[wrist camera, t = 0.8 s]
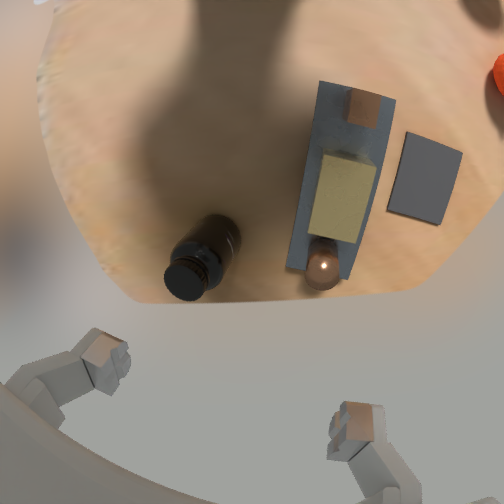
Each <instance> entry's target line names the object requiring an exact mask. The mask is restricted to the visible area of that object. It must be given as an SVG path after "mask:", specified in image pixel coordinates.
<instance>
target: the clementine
mask: <svg viewBox="0 0 504 504" xmlns="http://www.w3.org/2000/svg"><path fill="white" fill-rule="evenodd" d="M493 73H494V79H495V82H496V85H497V87H498V89H499V91H500V92H501V94H502V95H503V96H504V54H502V55H500V56H499V57H498V58H497V60H496V61H495V64H494V68H493Z"/></svg>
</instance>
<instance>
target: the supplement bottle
mask: <svg viewBox="0 0 504 504" xmlns="http://www.w3.org/2000/svg"><path fill="white" fill-rule="evenodd" d="M240 245H241V235H240V232H239V230H238V228H237V226H236V225H235V224H234V223H233V222H232V221H231V220H229V219H228V218H226V217H224V216H220V215H210V216H207V217H204V218H203V219H201V220H200V221H199V222H198V223H197V224H196V225H195V226H194V227H193V228H192V229H191V230H190V231H189V232H188V233H187V234H186V235H185V236H184V237H183V238H182V239H181V240H180V241H179V243H178V244H177V245H176V246H175V247H174V248H173V250H172V252H171V256H170V265H169V267H168V268H167V269H166V271H165V274H164V282H165V285H166V286H167V289H168V290H169V291H170V292H171V293H172V294H173V295H174V296H175V297H177V298H179V299H182V300H183V301H195V300H198V298H200V297H201V296H202V295H203V293H204V292H205V291H207V290H210V289H213V288H214V287H216V286H217V285H218V284H219V283H220V282H221V280H222V279H223V277H224V275H225V273H226V272H227V270H228V268H229V266H230V265H231V263H232V261H233V259H234V258H235V256H236V254H237V252H238V250H239V248H240Z"/></svg>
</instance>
